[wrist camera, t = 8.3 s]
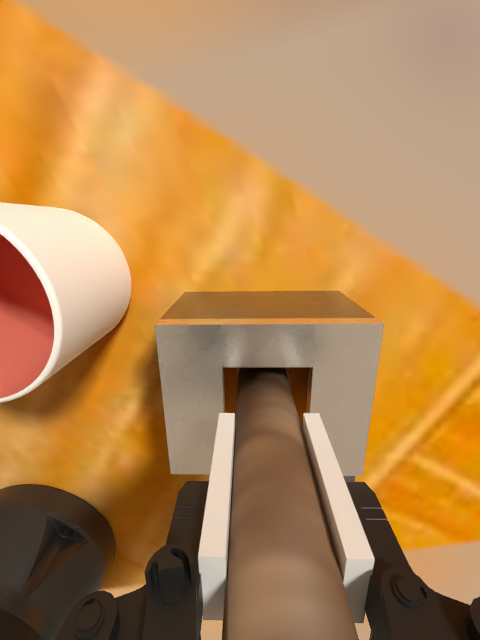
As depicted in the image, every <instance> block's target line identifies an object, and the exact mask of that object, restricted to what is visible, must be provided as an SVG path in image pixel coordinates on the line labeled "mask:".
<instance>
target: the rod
mask: <svg viewBox="0 0 480 640" xmlns="http://www.w3.org/2000/svg"><path fill="white" fill-rule="evenodd" d="M222 640H359V639H358V635H357V632H356V628H355V624H354V620H353V617H352V613H351V609H350V606H349V602H348V598H347V595H346V591H345V587H344V583H343V580H342V576H341V572H340V569H339V565H338V561H337V557H336V554H335V550H334V546H333V543H332V539H331V535H330V532H329V528H328V524H327V520H326V517H325V513H324V509H323V506H322V502H321V498H320V494H319V491H318V487H317V483H316V480H315V476H314V472H313V468H312V465H311V461H310V457H309V454H308V450H307V446H306V443H305V439H304V435H303V431H302V428H301V424H300V420H299V417H298V413H297V409H296V405H295V402H294V398H293V394H292V391H291V387H290V383H289V379H288V376H287V372H286V369H285V368H284V367H241V368H240V370H239V373H238V384H237V400H236V417H235V441H234V458H233V475H232V492H231V510H230V527H229V544H228V561H227V578H226V585H225V597H224V614H223V630H222Z"/></svg>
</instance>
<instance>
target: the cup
mask: <svg viewBox="0 0 480 640" xmlns="http://www.w3.org/2000/svg"><path fill="white" fill-rule="evenodd" d="M131 288H132V287H131V275H130V270H129V266H128V263H127V261H126V258H125V256H124V254H123V252H122V250H121V249H120V247H119V246H118V244H117V243H116V241H115V240H114V239H113V238H112V237H111V235H110V234H109V233H108V232H107V231H106V230H105V229H103V228H102V227H101V226H100V225H98V224H97V223H96V222H94V221H93V220H91V219H89V218H88V217H85V216H83V215H81V214H79V213H77V212H73V211H70V210H67V209H62V208H54V207H44V206H33V205H22V204H11V203H0V403H2V402H6V401H11V400H14V399H16V398H19V397H22V396H24V395H26V394H28V393H29V392H31V391H33V390H34V389H35V388H37V387H38V386H39V385H41V384H42V383H43V382H45V381H46V380H47V379H49V378H50V377H51V376H53V375H54V374H55V373H56V372H58V371H59V370H60V369H62V368H63V367H64V366H66V365H67V364H68V363H69V362H71V361H72V360H73V359H75V358H76V357H77V356H79V355H80V354H81V353H82V352H84V351H85V350H86V349H88V348H89V347H90V346H92V345H93V344H94V343H95V342H97V341H98V340H99V339H101V338H102V337H103V336H105V335H106V334H107V333H108V332H110V331H111V330H112V329H113V328H114V327H115V326H116V325H117V324H118V323H119V322H120V320H121V319H122V318H123V316H124V314H125V312H126V310H127V308H128V305H129V302H130V297H131Z"/></svg>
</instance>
